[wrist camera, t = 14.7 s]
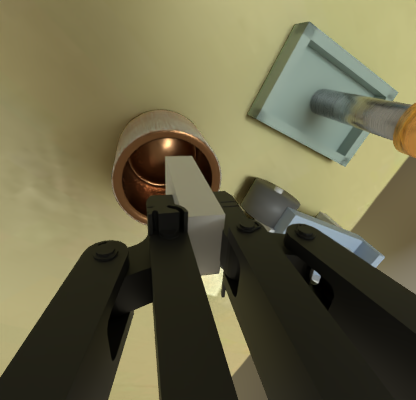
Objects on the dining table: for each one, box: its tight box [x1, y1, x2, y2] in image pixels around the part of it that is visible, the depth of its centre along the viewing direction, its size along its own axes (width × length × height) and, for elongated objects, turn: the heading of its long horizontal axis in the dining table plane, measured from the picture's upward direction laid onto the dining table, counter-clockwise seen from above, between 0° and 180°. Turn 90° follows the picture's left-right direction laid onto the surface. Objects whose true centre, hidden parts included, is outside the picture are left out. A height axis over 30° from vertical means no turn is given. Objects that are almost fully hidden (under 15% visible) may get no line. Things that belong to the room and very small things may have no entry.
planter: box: [112, 110, 221, 225], centre depth 30 cm, size 11×11×10 cm
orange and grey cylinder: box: [310, 89, 416, 158], centre depth 28 cm, size 5×5×16 cm
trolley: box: [220, 178, 385, 283], centre depth 39 cm, size 18×14×12 cm
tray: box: [248, 22, 398, 167], centre depth 34 cm, size 16×11×3 cm
